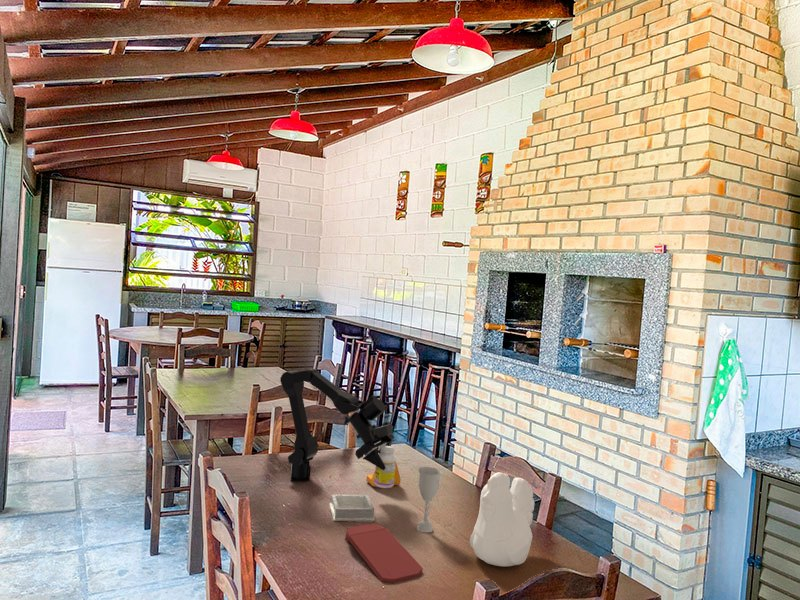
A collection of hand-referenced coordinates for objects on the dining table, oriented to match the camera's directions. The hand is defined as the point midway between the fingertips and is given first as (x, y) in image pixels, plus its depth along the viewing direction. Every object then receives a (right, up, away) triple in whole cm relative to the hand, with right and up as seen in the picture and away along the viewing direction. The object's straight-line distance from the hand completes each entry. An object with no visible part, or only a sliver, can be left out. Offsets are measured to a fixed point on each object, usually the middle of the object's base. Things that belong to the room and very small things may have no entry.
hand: (389, 466), depth 196 cm
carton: (-2, -14, -39) cm, 41 cm away
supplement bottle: (-2, -7, +1) cm, 7 cm away
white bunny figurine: (+34, -16, -33) cm, 50 cm away
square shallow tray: (-12, -11, -11) cm, 20 cm away
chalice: (+11, -14, -19) cm, 26 cm away
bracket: (-3, -12, +17) cm, 21 cm away
